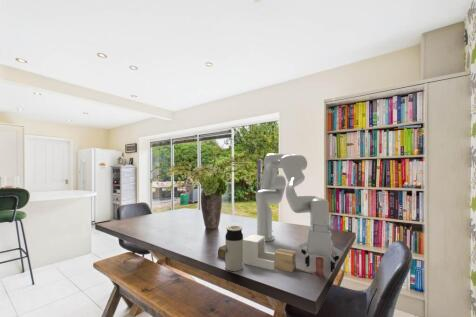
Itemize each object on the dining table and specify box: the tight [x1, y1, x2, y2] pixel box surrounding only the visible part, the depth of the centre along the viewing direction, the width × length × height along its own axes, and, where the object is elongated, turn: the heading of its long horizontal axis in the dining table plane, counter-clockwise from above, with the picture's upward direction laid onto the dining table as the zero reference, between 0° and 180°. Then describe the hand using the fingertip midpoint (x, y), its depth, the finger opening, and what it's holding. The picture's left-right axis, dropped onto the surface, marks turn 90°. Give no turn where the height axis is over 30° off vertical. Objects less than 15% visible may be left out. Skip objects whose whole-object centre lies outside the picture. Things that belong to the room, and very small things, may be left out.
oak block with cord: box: [274, 248, 325, 278], centre depth 100 cm, size 6×20×7 cm, turn 61°
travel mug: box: [224, 225, 244, 272], centre depth 102 cm, size 8×8×18 cm
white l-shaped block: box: [243, 233, 275, 271], centre depth 108 cm, size 10×15×11 cm
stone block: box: [217, 244, 225, 260], centre depth 114 cm, size 6×12×5 cm, turn 50°
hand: (319, 268), depth 96 cm, fingers open, 9 cm apart
